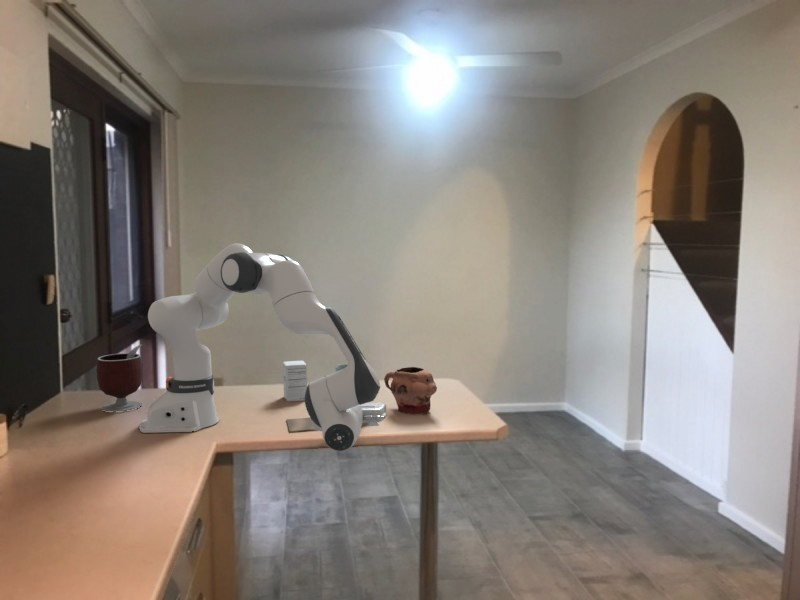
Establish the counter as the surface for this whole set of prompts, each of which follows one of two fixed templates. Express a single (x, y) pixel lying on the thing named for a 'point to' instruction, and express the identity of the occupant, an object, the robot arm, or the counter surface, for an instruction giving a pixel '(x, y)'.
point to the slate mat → (370, 424)
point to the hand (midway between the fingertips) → (351, 404)
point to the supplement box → (295, 380)
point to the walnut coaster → (300, 425)
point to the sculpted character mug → (412, 389)
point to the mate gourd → (120, 378)
